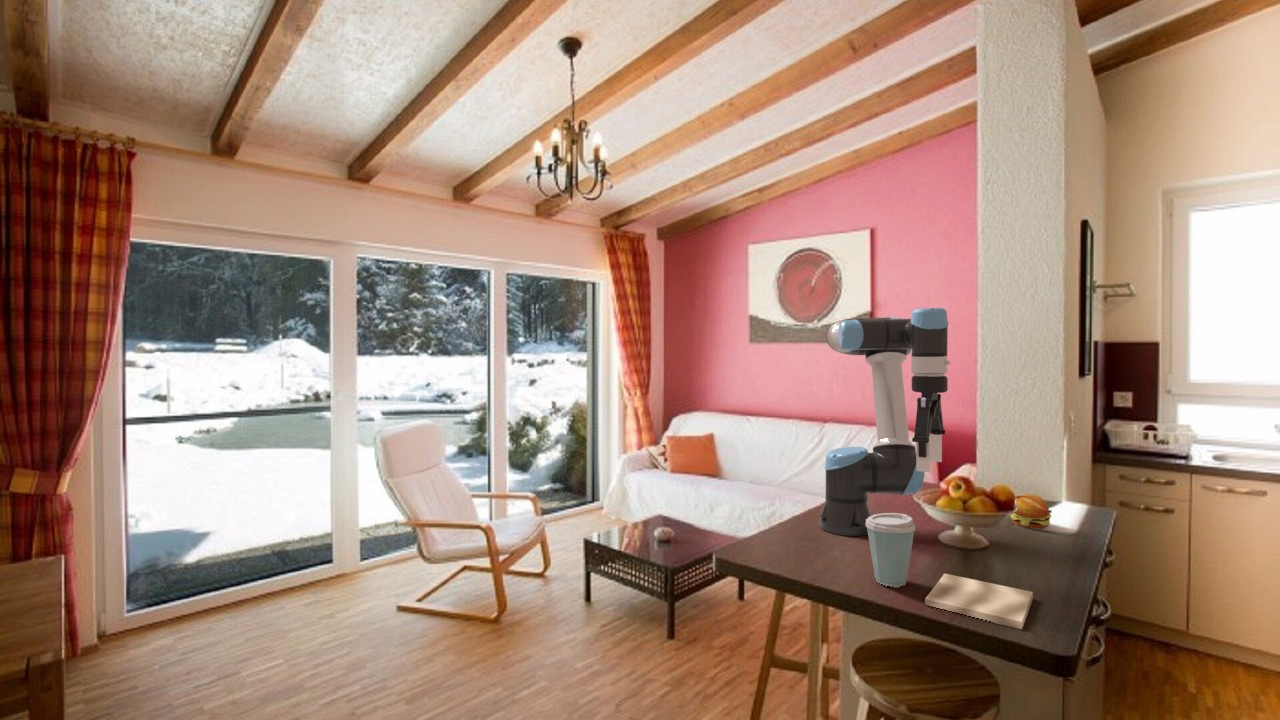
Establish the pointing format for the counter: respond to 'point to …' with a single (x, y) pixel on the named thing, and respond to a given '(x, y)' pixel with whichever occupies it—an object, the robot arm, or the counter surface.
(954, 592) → the birch board
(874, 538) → the disposable coffee cup
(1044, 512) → the cheeseburger
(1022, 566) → the counter surface
